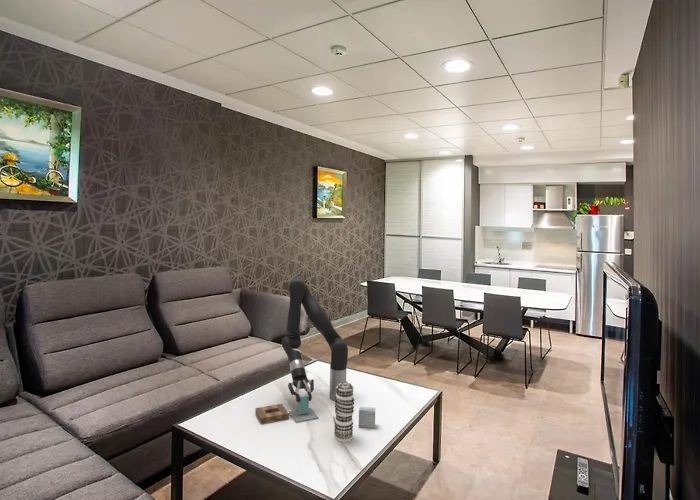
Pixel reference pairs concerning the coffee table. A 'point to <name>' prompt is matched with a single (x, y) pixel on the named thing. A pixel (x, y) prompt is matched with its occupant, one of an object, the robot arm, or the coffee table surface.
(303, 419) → the mat
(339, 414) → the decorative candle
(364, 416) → the medicine box
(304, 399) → the teal rectangular block
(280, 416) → the holder
